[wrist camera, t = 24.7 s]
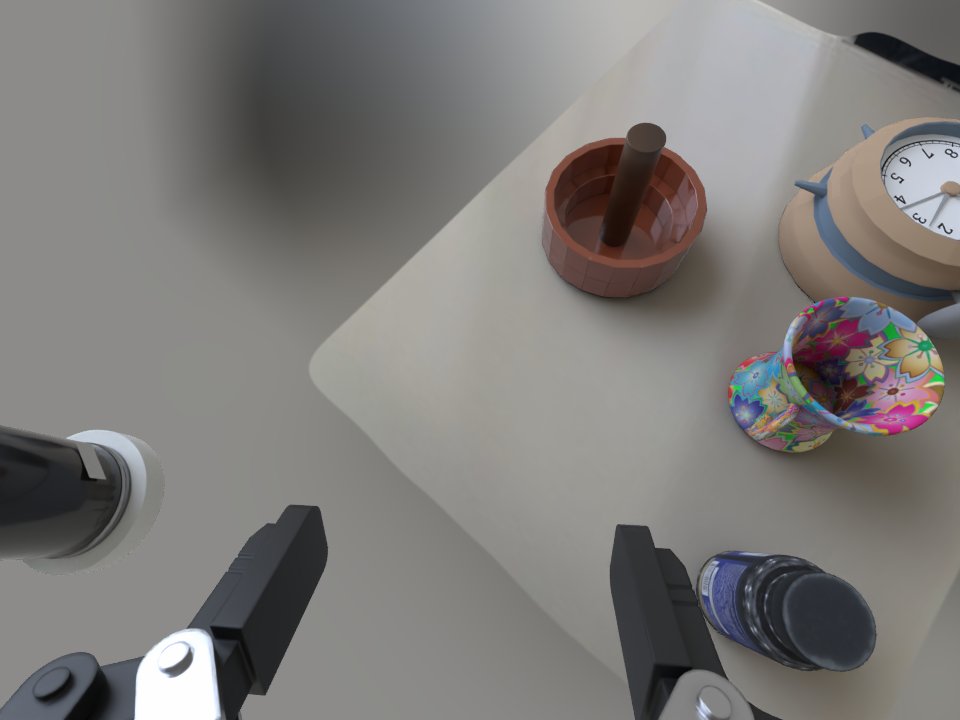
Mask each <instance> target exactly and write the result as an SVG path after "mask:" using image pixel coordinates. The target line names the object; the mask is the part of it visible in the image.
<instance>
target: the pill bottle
mask: <svg viewBox="0 0 960 720" xmlns="http://www.w3.org/2000/svg"><path fill="white" fill-rule="evenodd" d="M696 593H697V597H698V602H699V605H700V608H701V610H702V612H703V614H704V616H705V618H706V619H707V620H708V622H709V623H710V624H711V625H712V626H713V627H714V628H715V629H716V630H717V631H718V632H719V633H721V634H722V635H724V636H726V637H728V638H729V639H731V640H733V641H735V642H737V643H740V644H742V645H744V646H746V647H748V648H750V649H752V650H754V651H756V652H758V653H760V654H762V655H764V656H766V657H768V658H770V659H772V660H774V661H776V662H778V663H781V664H782V665H785V666H788V667H791V668H794V669H798V670H802V671H813V670H815V671H816V670H820V669H828V670H831V671H840V672H842V671H850V670H854V669H856V668H858V667H860V666H861V665H863V664H864V663H865V662H866V661H867V660H868V659H869V657H870V656H871V654H872V652H873V650H874V647H875V641H876V635H877V634H876V625H875V621H874V617H873V615H872V612H871V610H870V608H869V606H868V605H867V603H866V601H865V600H864V598H863V597H862V596H861V595H860V594H859V592H858V591H857V590H856V589H855V588H853V587H852V586H851V585H850V584H849V583H847V582H845V581H844V580H842V579H840V578H838V577H836V576H834V575H831V574H828V573H826V572H824V571H823V570H822V569H820V568H819V567H817V566H816V565H814V564H813V563H811V562H809V561H807V560H804V559H801V558H798V557H793V556H787V555H776V554H763V553H752V552H740V551H726V552H722V553H720V554H717V555H715V556H713V557H711V558H710V559H709V560H707V562H706V563H705V564H704V565H703V567H702V569H701V570H700V572H699V575H698V579H697V587H696Z"/></svg>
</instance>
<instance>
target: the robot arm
mask: <svg viewBox="0 0 960 720" xmlns="http://www.w3.org/2000/svg"><path fill="white" fill-rule="evenodd" d="M131 486H132V483H131V474H130V470H129V467H128V465H127V463H126V461H125V459H124V458H123V457H122V456H121V454H120V453H118V452H117V451H116V450H114V449H113V448H111V447H108V446H105V445H101V444H96V443H90V442H80V441H75V440H70V439H66V438H61V437H56V436H51V435H46V434H41V433H36V432H31V431H26V430H21V429H16V428H11V427H6V426H1V425H0V561H1V560H2V561H3V560H23V559H39V558H46V559H60V558H70V557H75V556H78V555H81V554H83V553H86V552H87V551H89V550H91V549H93V548H94V547H96V546H97V545H99V544H100V543H101V542H102V541H104V540H105V539H106V538H107V537H108V536H109V535H110V534H111V533H112V531H113V530H114V529H115V528H116V526H117V525H118V524H119V522H120V520H121V519H122V517H123V515H124V513H125V511H126V508H127V506H128V503H129V499H130V495H131ZM327 555H328V546H327V541H326V536H325V531H324V526H323V521H322V516H321V511H320V509H319V507H318V506H306V505H289V506H288V507H287V508H286V509H285V510H284V512H283V514H282V515H281V517H280V518H279V519H278V521H277V522H276V524H270V523H268V524H266V525H265V526H264V527H262V528H261V529H260V530H259V531H257V532H256V533H255V534H254V535H253V536H251V537H250V538H249V540H248V541H247V543H246V544H245V546H244V547H243V548H242V550H241V551H240V553H239V554H238V558H235V560H234V562H233V563H232V564H231V566H230V567H229V570H228V572H226V573H225V574H224V576H223V577H222V579H221V580H220V582H219V583H218V585H217V586H216V587H215V589H214V590H213V592H212V593H211V595H210V596H209V597H208V599H207V600H206V602H205V603H204V605H203V606H202V607H201V609H200V611H199V612H198V613H197V615H196V616H195V618H194V619H193V621H192V622H191V623H190V625H189V626H188V627H187V628H186V629H185V630H181V631H178V632H175V633H173V634H171V635H169V636H168V637H166V638H165V639H163V640H162V641H160V642H159V643H158V644H156V645H155V646H154V647H153V648H152V649H151V650H150V651H149V652H148V653H147V654H146V656H143V657H139V658H135V659H131V660H126V661H122V662H118V663H113V664H109V665H105V666H101V667H100V665H99V664H98V662H97V660H96V658H95V657H94V656H93V655H91V654H89V653H85V652H77V653H72V654H68V655H65V656H62V657H60V658H57V659H55V660H53V661H51V662H50V663H48V664H46V665H45V666H43V667H42V668H40V669H39V670H38V671H36V672H35V673H34V674H32V675H31V676H30V677H29V678H28V679H27V680H26V681H25V682H24V683H23V684H22V685H21V686H20V687H19V689H18V690H17V691H16V692H15V693H14V694H13V696H12V697H11V698H10V699H9V700H8V701H7V702H6V704H5V705H4V706H3V707H2V708H1V709H0V720H242V717H241V713H240V709H241V707H242V705H243V703H244V701H245V699H246V697H247V695H248V694H254V695H266V693H267V691H268V689H269V686H270V684H271V682H272V680H273V678H274V676H275V674H276V672H277V669H278V667H279V665H280V663H281V661H282V659H283V657H284V654H285V652H286V650H287V648H288V646H289V644H290V642H291V639H292V637H293V635H294V633H295V631H296V629H297V627H298V625H299V622H300V620H301V618H302V616H303V614H304V612H305V610H306V608H307V605H308V603H309V601H310V599H311V597H312V595H313V593H314V590H315V588H316V586H317V584H318V582H319V580H320V578H321V575H322V573H323V571H324V568H325V566H326V562H327ZM610 586H611V593H612V598H613V604H614V609H615V614H616V620H617V625H618V630H619V636H620V641H621V646H622V651H623V657H624V662H625V667H626V673H627V678H628V683H629V688H630V693H631V699H632V705H633V710H634V715H635V720H782V719H779V718H777V717H774V716H772V715H770V714H767V713H765V712H763V711H761V710H760V709H758V708H757V707H755V706H754V705H752V704H751V703H749V702H748V701H747V700H746V699H745V697H744V696H743V694H742V693H741V692H740V691H739V690H738V688H736V687H735V686H734V685H733V684H732V683H731V682H730V681H729V680H728V678H727V676H726V675H725V672H724V670H723V668H722V665H721V662H720V660H719V657H718V654H717V652H716V649H715V646H714V644H713V641H712V638H711V635H710V633H709V630H708V627H707V625H706V622H705V619H704V617H703V614H702V611H701V609H700V607H699V606H698V600H697V598H696V595H695V592H694V590H692V584H691V582H690V579H689V576H688V574H687V571H686V568H685V566H684V565H683V564H682V562H681V561H680V560H679V559H678V558H677V557H676V555H675V554H674V553H673V552H672V551H671V549H664V548H655V546H654V543H653V539H652V536H651V533H650V530H649V528H648V527H647V526H639V525H621V524H618V525H617V526H616V531H615V538H614V544H613V551H612V557H611V564H610Z"/></svg>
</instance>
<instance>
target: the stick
mask: <svg viewBox="0 0 960 720" xmlns="http://www.w3.org/2000/svg"><path fill="white" fill-rule="evenodd" d="M665 143H666V135H665V132H664V131H663V130H662V129H661V128H660V127H659V126H657V125H655V124H651V123H640V124H637V125H635V126H633V127H632V128H631V129H630V130H629V131H628V133H627V137H626V140H625V144H624V147H623V151H622V154H621V158H620V161H619V165H618V168H617V172H616V175H615V179H614V182H613V186H612V189H611V193H610V196H609V200H608V203H607V207H606V211H605V214H604V218H603V221H602V225H601V228H600V232H599V236H600V239H601V240H602V242H603V243H605V244H606V245H608V246H612V247H618V246H621V245H623V244H624V243H626V241H627V240H628V238H629V235H630V233H631V230H632V227H633V225H634V222H635V220H636V217H637V215H638V212H639V210H640V207H641V204H642V202H643V199H644V197H645V194H646V192H647V189H648V186H649V184H650V181H651V179H652V176H653V174H654V171H655V169H656V166H657V163H658V161H659V158H660V156H661V153H662V151H663V148H664V145H665Z"/></svg>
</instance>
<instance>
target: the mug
mask: <svg viewBox="0 0 960 720" xmlns="http://www.w3.org/2000/svg"><path fill="white" fill-rule="evenodd" d="M944 387H945V377H944V370H943V365H942V362H941V359H940V357H939V354H938V352H937V350H936V348H935V347H934V345H933V343H932V342H931V340H930V339H929V338H928V337H927V335H926V334H925V333H924V332H923V331H922V330H921V329H920V328H919V327H918V326H917V325H916V324H915V323H914V322H913V321H912V320H910V319H909V318H908V317H906V316H905V315H903V314H902V313H900V312H898V311H897V310H895V309H893V308H891V307H889V306H887V305H884V304H882V303H879V302H876V301H873V300H869V299H864V298H858V297H837V298H831V299H826V300H823V301H820V302H817V303H815V304H813V305H811V306H809V307H808V308H806V309H805V310H804V311H802V312H801V313H800V314H799V315H798V316H797V317H796V318H795V319H794V321H793V322H792V324H791V325H790V327H789V329H788V332H787V334H786V337H785V341H784V346H783V348H782V349H781V350H780V351H779V352H771V353H763V354H759V355H756V356H753V357H751V358H749V359H747V360H746V361H744V362H743V363H742V364H741V365H740V366H739V367H738V368H737V369H736V371H735V372H734V374H733V376H732V378H731V381H730V384H729V391H728V396H729V404H730V408H731V410H732V413H733V415H734V417H735V419H736V421H737V422H738V424H739V425H740V426H741V428H742V429H743V430H744V431H745V432H746V433H747V434H748V435H749V436H750V437H752V438H753V439H754V440H756V441H757V442H759V443H760V444H762V445H764V446H766V447H769V448H771V449H774V450H778V451H783V452H804V451H808V450H811V449H814V448H816V447H818V446H820V445H821V444H823V443H824V442H825V441H826V440H827V439H828V438H829V437H830V436H831V435H832V433H833V432H834V430H836V429H847V430H850V431H854V432H857V433H862V434H867V435H877V436H886V435H895V434H900V433H904V432H907V431H910V430H912V429H915V428H916V427H918V426H920V425H922V424H923V423H924V422H926V421H927V420H928V419H929V418H930V417H931V416H932V415H933V414H934V412H935V411H936V410H937V408H938V406H939V404H940V402H941V400H942V397H943V393H944Z"/></svg>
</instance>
